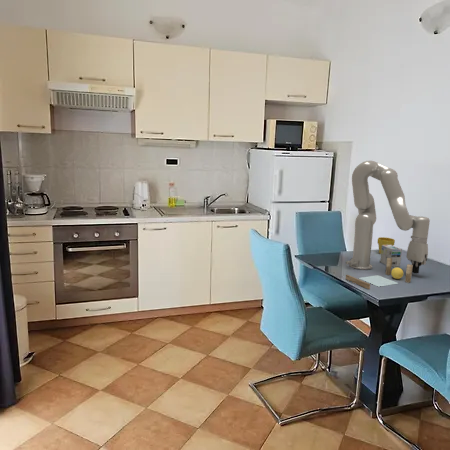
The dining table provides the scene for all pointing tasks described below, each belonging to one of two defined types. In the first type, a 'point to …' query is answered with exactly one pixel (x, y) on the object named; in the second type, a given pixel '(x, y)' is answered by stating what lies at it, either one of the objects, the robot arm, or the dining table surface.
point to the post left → (388, 266)
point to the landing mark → (378, 280)
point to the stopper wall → (358, 281)
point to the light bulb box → (391, 255)
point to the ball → (397, 273)
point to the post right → (408, 273)
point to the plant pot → (385, 242)
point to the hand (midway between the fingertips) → (415, 272)
